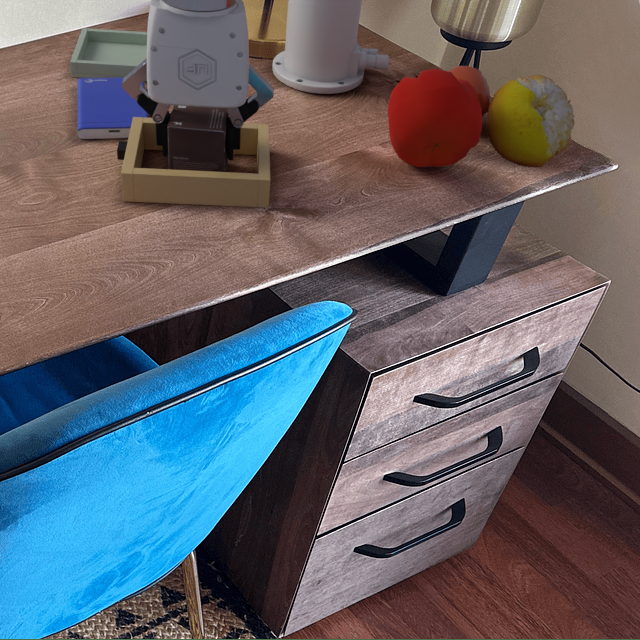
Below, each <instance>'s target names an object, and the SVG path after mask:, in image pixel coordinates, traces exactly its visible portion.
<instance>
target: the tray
mask: <svg viewBox="0 0 640 640" xmlns="http://www.w3.org/2000/svg"><path fill="white" fill-rule="evenodd" d="M146 58H147V31H134V30H120V29H119V30H118V29H103V28H90V27H89V28H88V27H82V28H81V30H80V33H79V36H78V39H77V42H76V45H75V47H74V50H73V52H72V54H71V58H70V61H69V66H70V67H69V68H70V75H71V78H77V79H80V78H124V77H125V76H127V75H128V74H129V73H130V72H131V71H132V70H133V69H134V68H136V67H137V66H138V65H139V64H140V63H141V62H142V61H143V60H145V59H146ZM144 83H147V78H146V79H145V80H144Z"/></svg>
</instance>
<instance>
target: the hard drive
mask: <svg viewBox="0 0 640 640" xmlns="http://www.w3.org/2000/svg"><path fill="white" fill-rule="evenodd" d="M123 79H124V78H77V80H76V81H77V84H76V85H77V86H76V87H77V89H76V90H77V91H76V92H77V93H76V95H77V96H76V97H77V135H78V139H81V140H102V139H105V140H106V139H128V138H129V133H130V129H131V124H132V119H133V117H143V118H149V114H148V113H147V112H146V111H145V110H144V109H143V108H142V107H140V106H139V105H138V103H137V101H136V100H135V99H133V98H132V97H131V96H130V95H129V94H128V93H127V92H126V91H124V90H123V88H122V82H123ZM141 85H142V86H143V88H144V89H146V87H145V81H143V82H142V83H141Z"/></svg>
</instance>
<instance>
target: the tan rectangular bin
mask: <svg viewBox="0 0 640 640" xmlns="http://www.w3.org/2000/svg"><path fill="white" fill-rule="evenodd" d="M269 127H270V124H268V123H253V122H252V123H250V122H244V124H243V126H242V127H241V134H240V150H236V149H233V155H246V156H247V155H248V156H256V173H253V172H251V173H250V172H232V171H231V172H229V171H227V172H212V171H191V170H171V169H169V168H167V169H166V168H165V169H164V168H147V167H142V163H143V157H144V152H145V150H148V151H149V150H150V151H163V148H162V146H158V145H157V143H156V123H155V122H154V121H153V120H152V117H148V118H143V117H133V119H132V124H131V129H130V133H129V138H127V140H119V141H118V144H117V148H116V155H117V157H116V158H117V160H118V161H123V162H122V167H121V170H120V178H121V192H122V202H127V203H129V202H131V203H150V204H151V203H154V204H176V205H195V206H196V205H197V206H198V205H199V206H223V207H243V208H263V209H267V208H269V207H270V193H271V156H270V128H269Z"/></svg>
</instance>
